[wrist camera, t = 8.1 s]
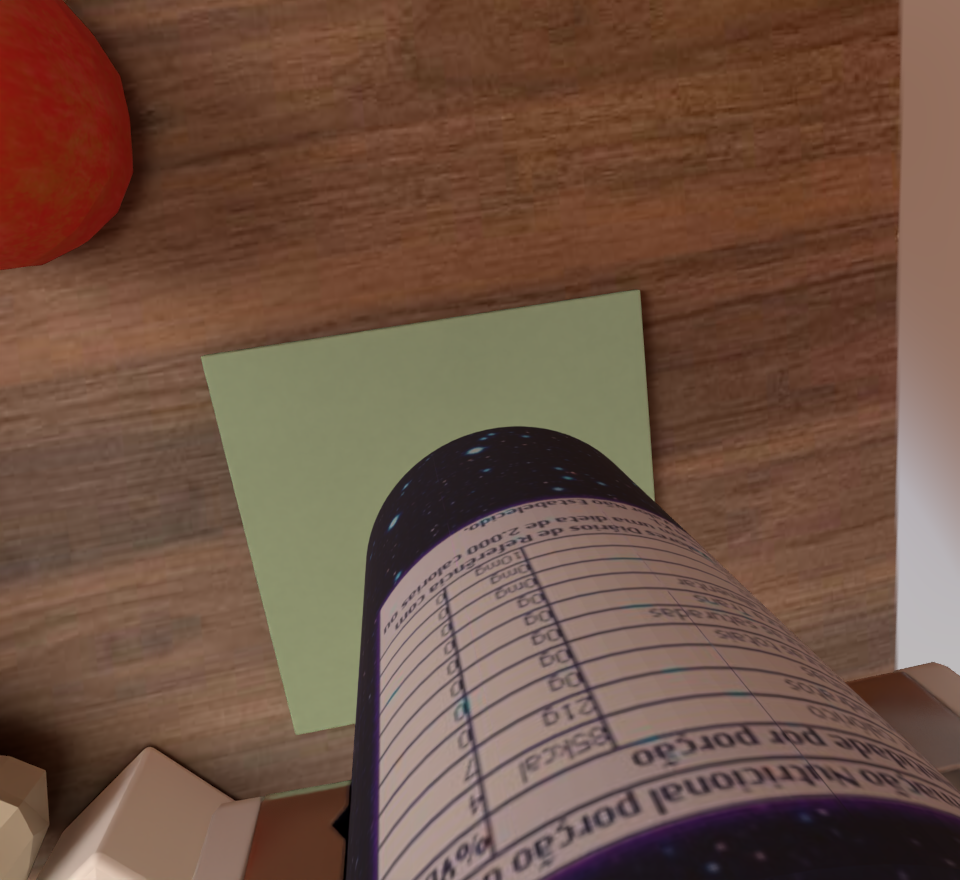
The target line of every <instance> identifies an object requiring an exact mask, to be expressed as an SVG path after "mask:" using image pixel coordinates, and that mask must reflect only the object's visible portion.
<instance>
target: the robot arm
mask: <svg viewBox="0 0 960 880" xmlns="http://www.w3.org/2000/svg"><path fill="white" fill-rule="evenodd" d="M845 683H846V684H847V685H848V686H849V687H850V688H851V689H852V690H853V691H854V692H855V693H857V694H858V695H859V696H860V697H861V698H862V699H863V700H864V701H865V702H866V703H867V704H868V705H869V706H870V707H871V708H872V709H873V710H874V711H875V712H877V713H878V714H879V715H880V716H881V717H882V718H883V719H884V720H885V721H886V722H887V723H888V724H889V725H890V726H891V727H892V728H893V729H894V730H895V731H897V732H898V733H899V734H900V735H901V736H902V737H903V738H904V739H905V740H906V741H907V742H908V743H909V744H910V745H911V746H912V747H913V748H914V749H915V750H917V751H918V752H919V753H920V754H921V755H922V756H923V757H924V758H925V759H926V760H927V761H928V762H929V763H930V764H931V765H932V766H933V767H934V768H935V769H937V770H938V771H939V772H940V773H941V774H942V775H943V776H944V777H945V778H946V779H947V780H948V781H949V782H950V783H951V784H952V785H953V786H954V787H955V788H957V789H958V790H959V791H960V676H959V675H958V674H956V673H955V672H954V671H952V670H951V669H950V668H948V667H946V666H944V665H941V664H938V663H935V662H931V663H927V664H923V665H918V666H914V667H909V668H905V669H900V670H895V671H894V672H893V673H886V674H881V675H876V676H871V677H867V678H862V679H857V680H852V681H847V682H845ZM351 785H352V780H349V781H343V782H337V783H332V784H326V785H320V786H315V787H309V788H303V789H297V790H292V791H286V792H280V793H274V794H269V795H266V796H265V797H256V798H250V799H244V800H239V801H233V802H228V803H222V804H221V805H220V806H219V807H218V808H217V809H216V811H215V812H214V813H213V815H212V818H211V821H210V824H209V828H208V831H207V834H206V837H205V840H204V844H203V847H202V850H201V853H200V857H199V860H198V863H197V866H196V869H195V873H194V876H193V879H192V880H345V877H346V862H347V844H348V828H349V814H350V801H351Z"/></svg>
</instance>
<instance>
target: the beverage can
mask: <svg viewBox="0 0 960 880" xmlns="http://www.w3.org/2000/svg"><path fill="white" fill-rule="evenodd" d="M345 880H960V791H959V790H958V789H957V788H955V787H954V786H953V785H952V784H951V783H950V782H949V781H948V780H947V779H946V778H945V777H944V776H943V775H942V774H941V773H940V772H939V771H938V770H937V769H935V768H934V767H933V766H932V765H931V764H930V763H929V762H928V761H927V760H926V759H925V758H924V757H923V756H922V755H921V754H920V753H919V752H918V751H917V750H915V749H914V748H913V747H912V746H911V745H910V744H909V743H908V742H907V741H906V740H905V739H904V738H903V737H902V736H901V735H900V734H899V733H898V732H897V731H895V730H894V729H893V728H892V727H891V726H890V725H889V724H888V723H887V722H886V721H885V720H884V719H883V718H882V717H881V716H880V715H879V714H878V713H877V712H875V711H874V710H873V709H872V708H871V707H870V706H869V705H868V704H867V703H866V702H865V701H864V700H863V699H862V698H861V697H860V696H859V695H858V694H857V693H855V692H854V691H853V690H852V689H851V688H850V687H849V686H848V685H847V684H846V683H845V682H844V681H843V680H842V679H841V678H840V677H839V676H838V675H836V674H835V673H834V672H833V671H832V670H831V669H830V668H829V667H828V666H827V665H826V664H825V663H824V662H823V661H822V660H821V659H820V658H819V657H818V656H816V655H815V654H814V653H813V652H812V651H811V650H810V649H809V648H808V647H807V646H806V645H805V644H804V643H803V642H802V641H801V640H800V639H799V638H798V637H796V636H795V635H794V634H793V633H792V632H791V631H790V630H789V629H788V628H787V627H786V626H785V625H784V624H783V623H782V622H781V621H780V620H779V619H778V618H776V617H775V616H774V615H773V614H772V613H771V612H770V611H769V610H768V609H767V608H766V607H765V606H764V605H763V604H762V603H761V602H760V601H759V600H758V599H756V598H755V597H754V596H753V595H752V594H751V593H750V592H749V591H748V590H747V589H746V588H745V587H744V586H743V585H742V584H741V583H740V582H739V581H738V580H736V579H735V578H734V577H733V576H732V575H731V574H730V573H729V572H728V571H727V570H726V569H725V568H724V567H723V566H722V565H721V564H720V563H719V562H718V561H716V560H715V559H714V558H713V557H712V556H711V555H710V554H709V553H708V552H707V551H706V550H705V549H704V548H703V547H702V546H701V545H700V544H699V543H698V542H696V541H695V540H694V539H693V538H692V537H691V536H690V535H689V534H688V533H687V532H686V531H685V530H684V529H683V528H682V527H681V526H680V525H679V524H678V523H676V522H675V521H674V520H673V519H672V518H671V517H670V516H669V515H668V514H667V513H666V512H665V511H664V510H663V509H662V508H661V507H660V506H659V505H658V504H656V503H655V502H654V501H653V500H652V499H651V498H650V497H649V496H648V495H647V494H646V493H645V492H644V491H643V490H642V489H641V488H640V487H639V486H638V485H636V484H635V483H634V482H633V481H632V480H631V479H630V478H629V477H628V476H627V475H626V474H625V473H624V472H623V471H622V470H621V469H620V468H619V467H618V466H616V465H615V464H614V463H613V462H612V461H611V460H610V459H609V458H608V457H606V456H605V455H604V454H602V453H601V452H600V451H598V450H597V449H595V448H594V447H592V446H591V445H589V444H587V443H585V442H583V441H581V440H579V439H577V438H575V437H572V436H570V435H567V434H564V433H561V432H558V431H554V430H549V429H544V428H537V427H526V426H509V427H498V428H493V429H487V430H483V431H479V432H475V433H472V434H469V435H466V436H463V437H460V438H458V439H456V440H453V441H451V442H449V443H447V444H445V445H443V446H441V447H440V448H438V449H436V450H435V451H433V452H431V453H430V454H429V455H427V456H426V457H424V458H423V459H422V460H421V461H419V462H418V463H417V464H416V465H415V466H413V467H412V468H411V469H410V470H409V471H408V472H407V473H406V474H405V475H404V476H403V477H402V478H401V480H400V481H399V482H398V483H397V484H396V486H395V487H394V488H393V490H392V491H391V492H390V494H389V495H388V497H387V498H386V500H385V502H384V503H383V505H382V507H381V509H380V511H379V513H378V515H377V517H376V520H375V522H374V525H373V528H372V531H371V534H370V538H369V543H368V548H367V555H366V569H365V584H364V599H363V615H362V630H361V645H360V660H359V676H358V691H357V706H356V721H355V737H354V752H353V767H352V785H351V801H350V814H349V828H348V844H347V862H346V877H345Z"/></svg>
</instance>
